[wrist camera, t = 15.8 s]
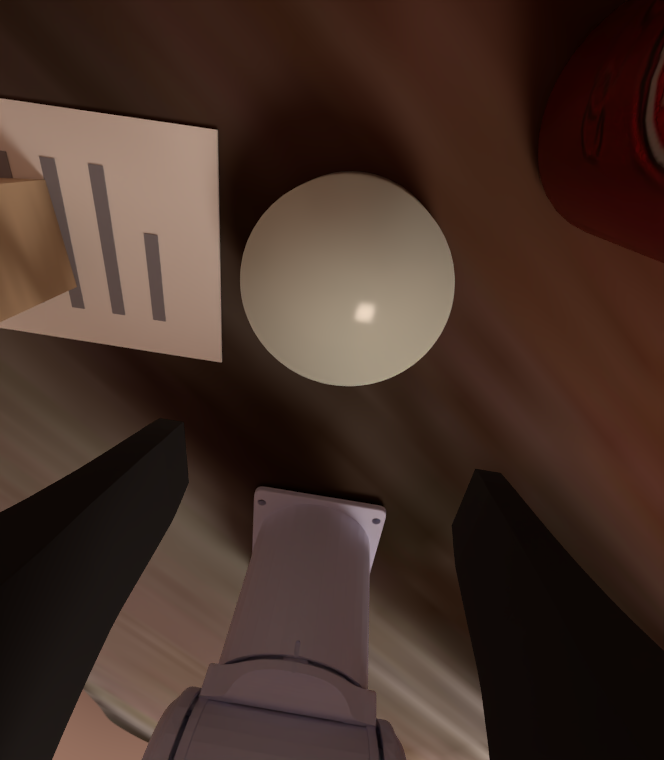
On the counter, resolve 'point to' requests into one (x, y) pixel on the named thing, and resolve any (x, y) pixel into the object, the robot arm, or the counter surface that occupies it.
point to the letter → (125, 226)
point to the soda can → (611, 132)
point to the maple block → (30, 248)
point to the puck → (347, 279)
